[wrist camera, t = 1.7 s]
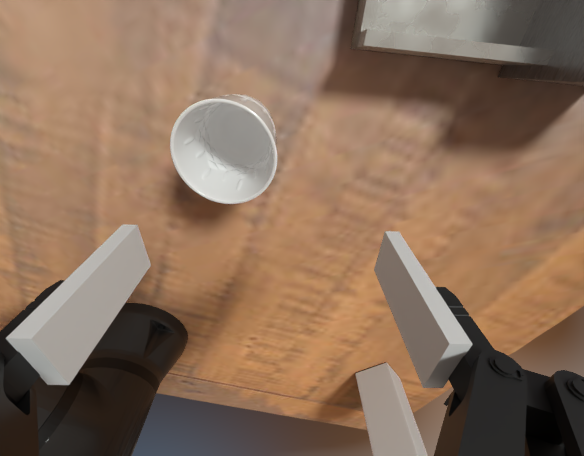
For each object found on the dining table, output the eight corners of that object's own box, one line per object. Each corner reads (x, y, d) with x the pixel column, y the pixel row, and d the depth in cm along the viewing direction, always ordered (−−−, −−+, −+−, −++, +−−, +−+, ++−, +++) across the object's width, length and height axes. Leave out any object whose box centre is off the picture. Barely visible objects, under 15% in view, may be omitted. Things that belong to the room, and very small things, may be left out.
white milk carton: (354, 372, 54) (383, 503, 38) (386, 361, 52) (431, 494, 36) (368, 386, 57) (400, 512, 41) (399, 376, 55) (445, 505, 39)
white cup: (290, 105, 27) (292, 125, 18) (266, 174, 31) (259, 216, 22) (214, 73, 25) (178, 78, 17) (199, 150, 29) (163, 185, 20)
